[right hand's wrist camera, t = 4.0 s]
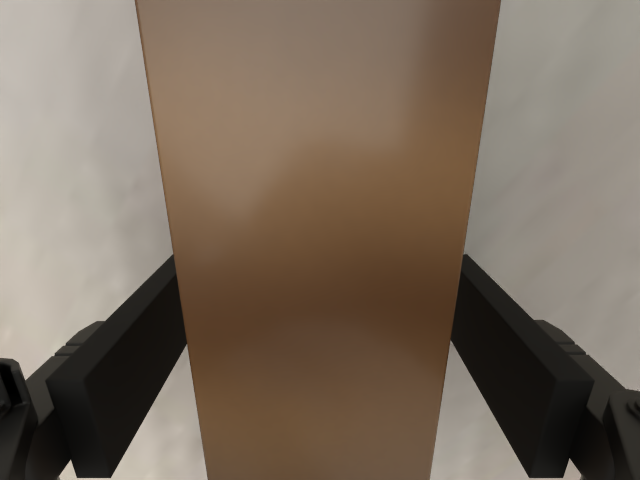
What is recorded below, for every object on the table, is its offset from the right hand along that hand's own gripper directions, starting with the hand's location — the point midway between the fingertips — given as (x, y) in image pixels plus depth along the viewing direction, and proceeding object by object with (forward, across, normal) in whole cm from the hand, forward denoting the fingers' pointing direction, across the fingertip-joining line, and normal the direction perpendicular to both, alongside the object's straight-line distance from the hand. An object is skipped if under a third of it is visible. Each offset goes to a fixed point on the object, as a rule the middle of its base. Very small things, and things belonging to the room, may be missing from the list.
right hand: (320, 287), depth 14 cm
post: (+1, 0, -25) cm, 25 cm away
